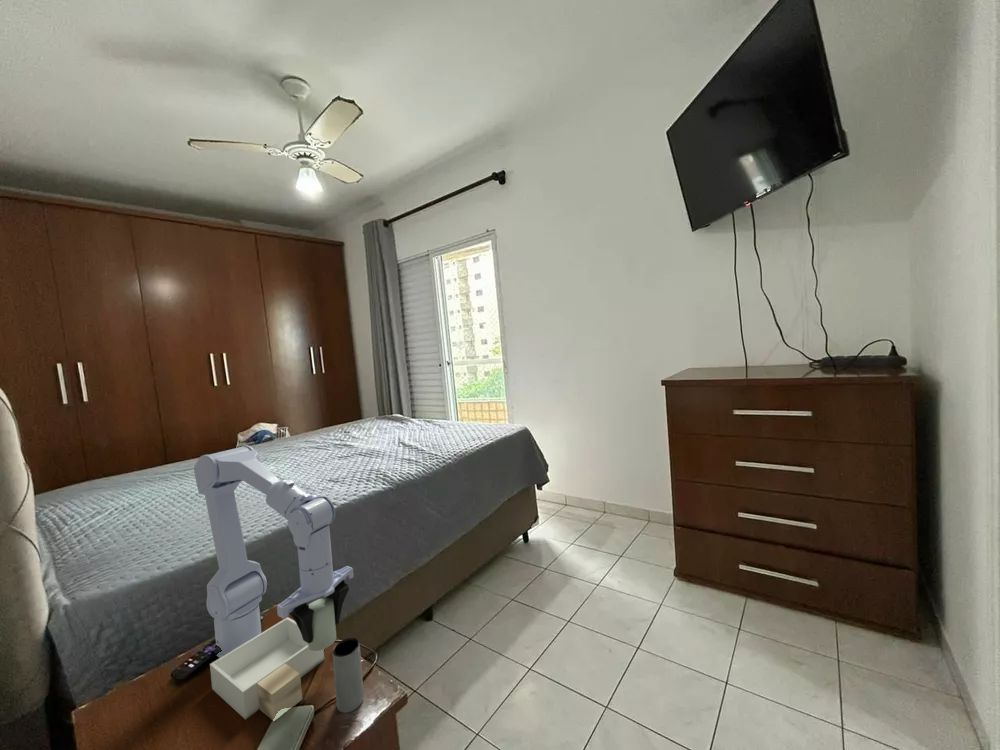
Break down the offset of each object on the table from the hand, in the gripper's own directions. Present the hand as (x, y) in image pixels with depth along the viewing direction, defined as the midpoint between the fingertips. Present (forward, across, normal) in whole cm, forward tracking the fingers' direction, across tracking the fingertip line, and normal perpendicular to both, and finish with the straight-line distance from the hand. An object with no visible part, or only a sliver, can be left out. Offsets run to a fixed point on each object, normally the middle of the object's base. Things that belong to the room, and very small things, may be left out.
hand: (321, 631), depth 75 cm
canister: (+2, 0, 0) cm, 2 cm away
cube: (+10, -8, +2) cm, 12 cm away
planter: (+10, -1, -9) cm, 13 cm away
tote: (+9, -5, +11) cm, 15 cm away
